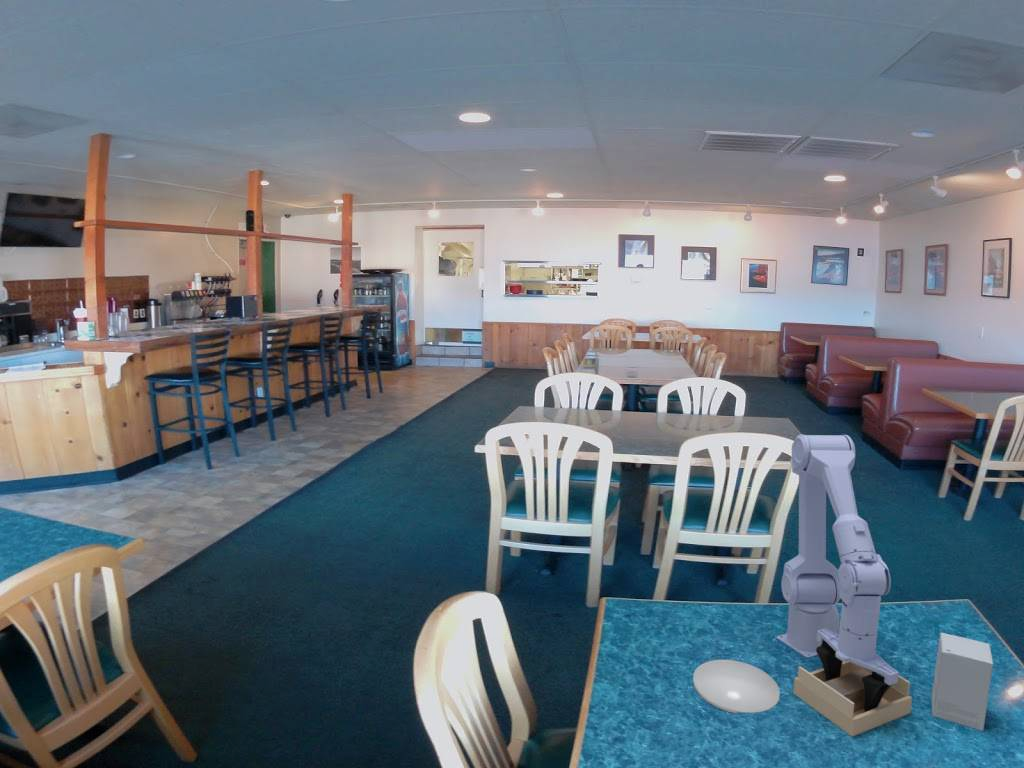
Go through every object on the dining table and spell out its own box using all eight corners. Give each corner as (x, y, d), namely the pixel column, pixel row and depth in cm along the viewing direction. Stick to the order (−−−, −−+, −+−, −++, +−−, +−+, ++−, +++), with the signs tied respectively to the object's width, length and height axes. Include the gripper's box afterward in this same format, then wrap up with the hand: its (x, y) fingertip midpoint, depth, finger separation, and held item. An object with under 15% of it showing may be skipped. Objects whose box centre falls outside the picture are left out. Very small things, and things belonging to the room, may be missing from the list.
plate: (737, 656, 131) (738, 652, 131) (798, 701, 117) (798, 697, 117) (676, 674, 125) (676, 671, 125) (732, 724, 111) (733, 720, 111)
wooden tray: (848, 675, 125) (851, 646, 124) (910, 715, 114) (913, 684, 113) (792, 695, 119) (795, 665, 118) (851, 739, 108) (855, 706, 107)
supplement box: (984, 734, 109) (994, 664, 107) (931, 718, 113) (940, 650, 111) (981, 709, 116) (990, 643, 113) (931, 694, 119) (939, 630, 117)
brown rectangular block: (860, 688, 120) (862, 668, 119) (880, 701, 117) (882, 681, 116) (820, 703, 116) (822, 682, 115) (839, 717, 112) (842, 696, 112)
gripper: (807, 611, 119) (801, 680, 121) (880, 654, 106) (872, 730, 108) (835, 603, 121) (828, 670, 124) (910, 644, 108) (901, 718, 111)
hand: (850, 698), depth 116 cm, fingers open, 7 cm apart
